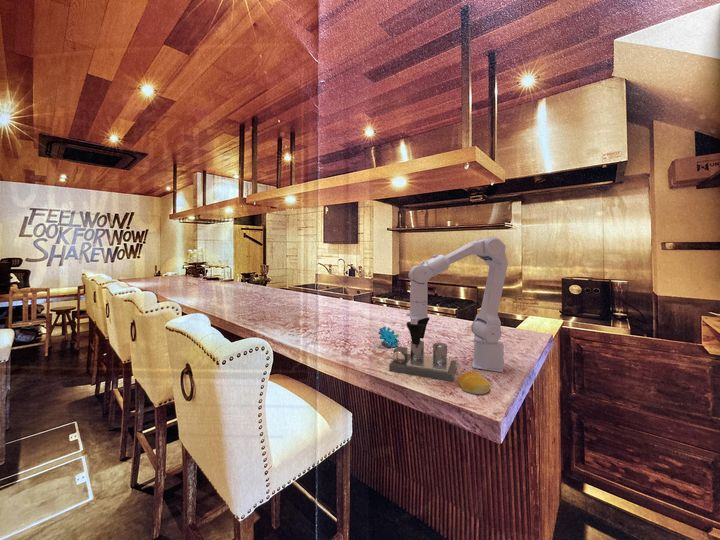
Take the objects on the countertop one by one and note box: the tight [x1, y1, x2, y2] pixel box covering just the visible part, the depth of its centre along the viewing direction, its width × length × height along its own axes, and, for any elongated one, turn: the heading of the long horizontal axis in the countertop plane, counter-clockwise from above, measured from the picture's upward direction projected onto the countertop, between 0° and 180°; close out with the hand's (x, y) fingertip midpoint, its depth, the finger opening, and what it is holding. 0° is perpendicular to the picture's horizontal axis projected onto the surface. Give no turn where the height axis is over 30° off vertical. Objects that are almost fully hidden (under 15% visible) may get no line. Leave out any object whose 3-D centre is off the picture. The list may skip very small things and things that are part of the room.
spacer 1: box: [410, 340, 425, 362], centre depth 98 cm, size 4×4×6 cm
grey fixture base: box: [388, 345, 458, 382], centre depth 97 cm, size 20×13×6 cm, turn 67°
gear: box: [378, 326, 400, 349], centre depth 123 cm, size 11×6×10 cm
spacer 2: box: [432, 342, 448, 365], centre depth 95 cm, size 4×4×6 cm
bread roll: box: [457, 371, 491, 395], centre depth 83 cm, size 8×9×4 cm
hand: (418, 341), depth 98 cm, fingers open, 7 cm apart
